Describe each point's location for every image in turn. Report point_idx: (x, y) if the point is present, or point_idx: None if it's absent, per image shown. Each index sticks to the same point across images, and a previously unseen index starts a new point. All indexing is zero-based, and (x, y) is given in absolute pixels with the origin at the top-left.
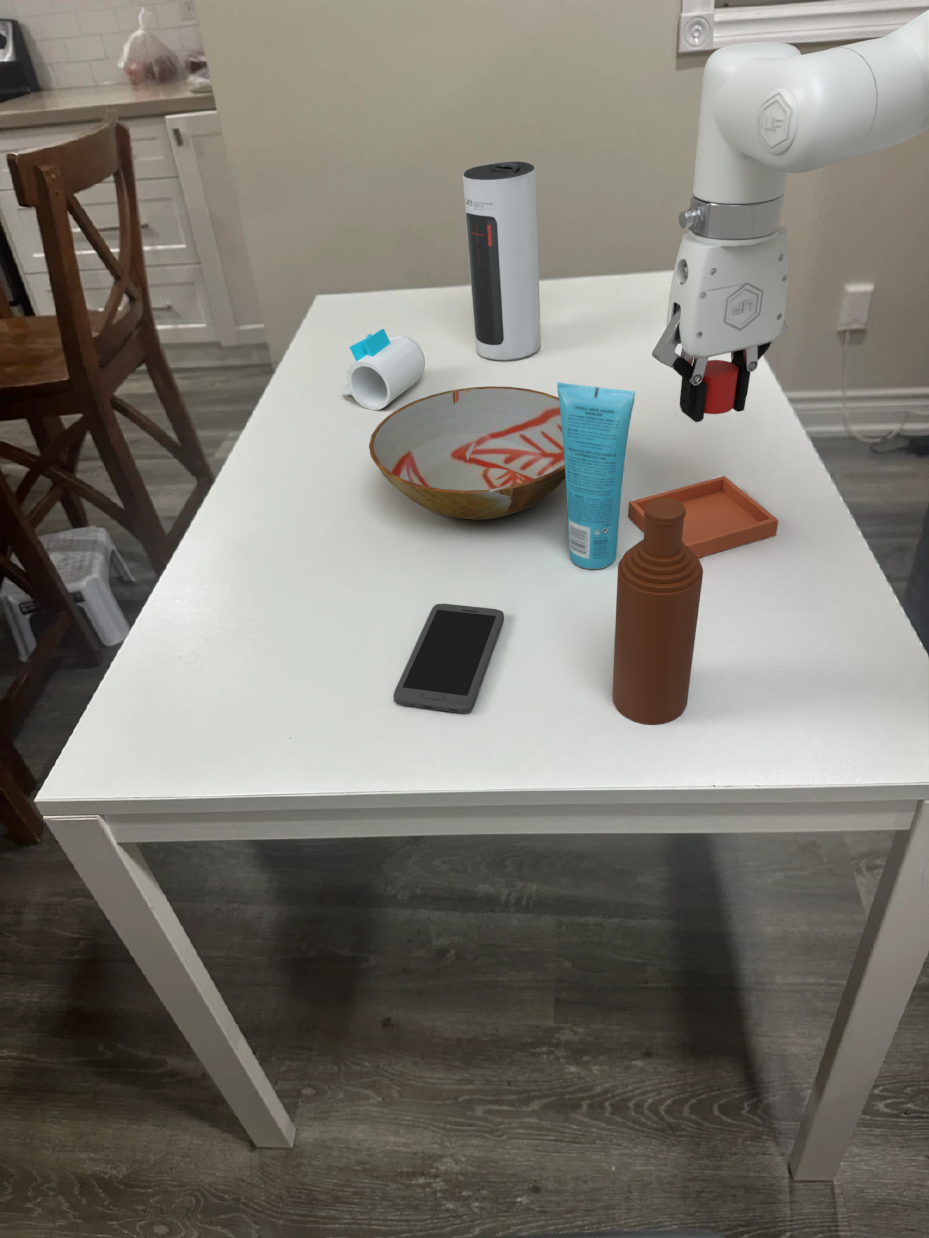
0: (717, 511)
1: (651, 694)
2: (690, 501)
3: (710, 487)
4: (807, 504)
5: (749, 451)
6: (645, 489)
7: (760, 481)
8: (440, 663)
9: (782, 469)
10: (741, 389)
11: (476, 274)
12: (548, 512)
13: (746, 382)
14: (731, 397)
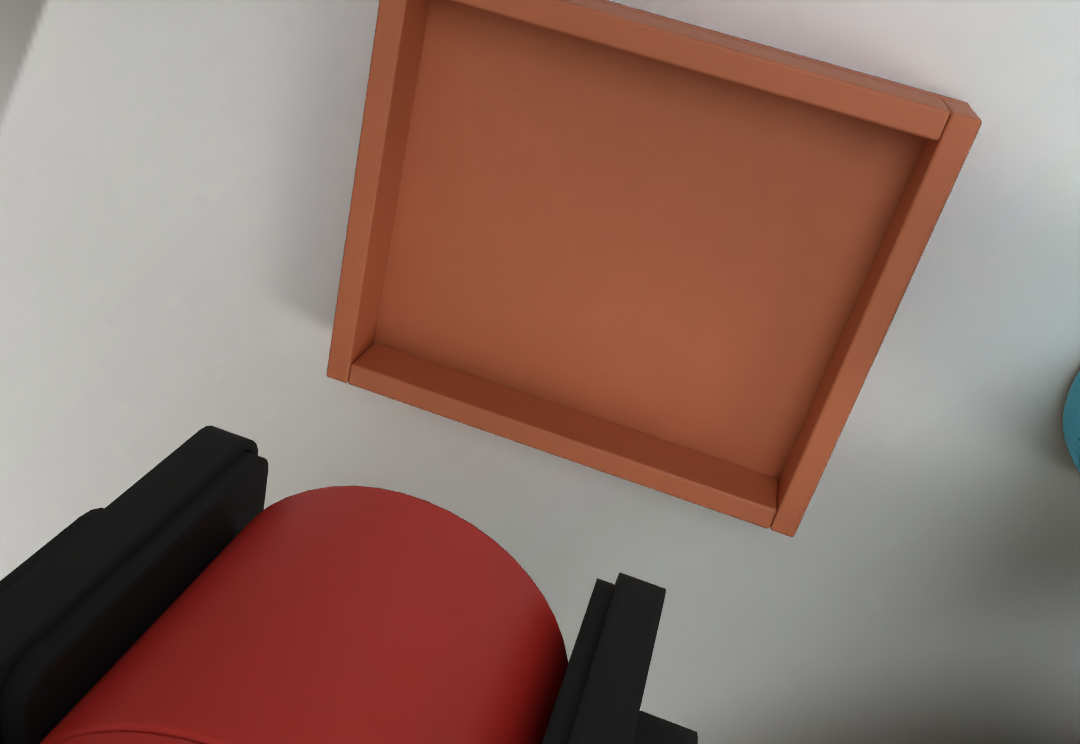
0: (499, 250)
1: None
2: (529, 378)
3: (415, 372)
4: (149, 32)
5: (101, 442)
6: (584, 559)
7: (195, 284)
8: None
9: (75, 279)
10: (125, 571)
11: None
12: (1002, 728)
13: (30, 595)
14: (280, 566)
